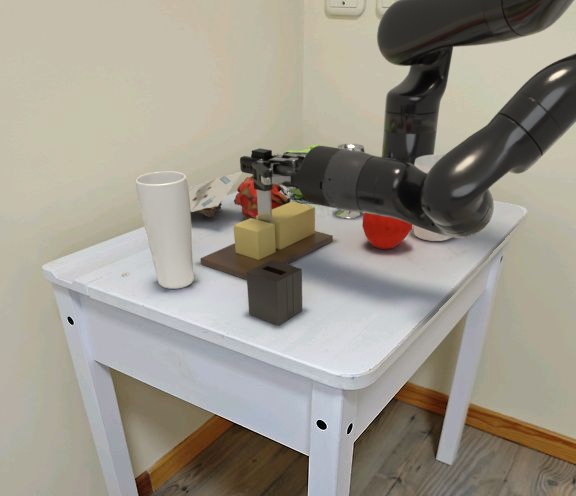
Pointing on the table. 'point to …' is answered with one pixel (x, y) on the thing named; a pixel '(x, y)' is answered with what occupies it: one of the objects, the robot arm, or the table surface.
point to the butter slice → (254, 238)
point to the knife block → (274, 291)
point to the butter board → (241, 264)
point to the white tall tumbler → (167, 225)
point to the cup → (425, 165)
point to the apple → (384, 230)
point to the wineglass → (356, 148)
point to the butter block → (292, 223)
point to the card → (210, 194)
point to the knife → (263, 195)
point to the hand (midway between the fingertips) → (247, 162)
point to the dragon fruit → (249, 198)
